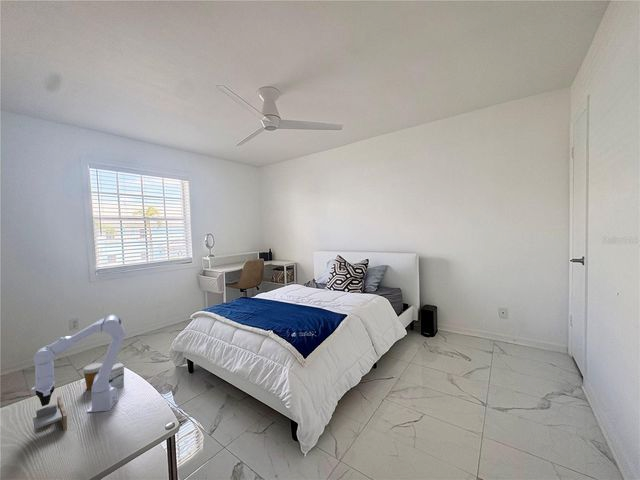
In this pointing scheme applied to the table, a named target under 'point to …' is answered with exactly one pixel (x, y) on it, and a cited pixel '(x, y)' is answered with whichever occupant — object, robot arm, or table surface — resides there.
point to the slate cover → (46, 416)
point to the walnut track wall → (62, 412)
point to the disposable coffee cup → (91, 373)
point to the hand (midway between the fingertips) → (45, 404)
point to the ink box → (117, 375)
